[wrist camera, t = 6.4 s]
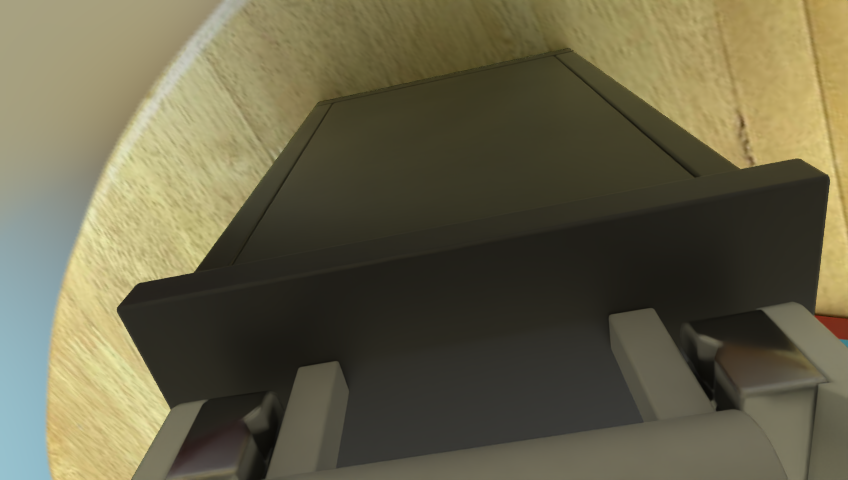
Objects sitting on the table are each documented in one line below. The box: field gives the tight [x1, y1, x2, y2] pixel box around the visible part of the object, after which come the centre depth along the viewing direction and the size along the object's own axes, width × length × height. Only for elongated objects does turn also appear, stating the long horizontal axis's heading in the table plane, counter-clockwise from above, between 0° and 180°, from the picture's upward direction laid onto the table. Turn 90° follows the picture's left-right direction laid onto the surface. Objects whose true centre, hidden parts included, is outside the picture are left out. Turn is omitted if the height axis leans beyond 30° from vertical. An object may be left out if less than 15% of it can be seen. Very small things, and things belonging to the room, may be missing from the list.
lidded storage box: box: [194, 48, 739, 273], centre depth 20 cm, size 13×11×16 cm
